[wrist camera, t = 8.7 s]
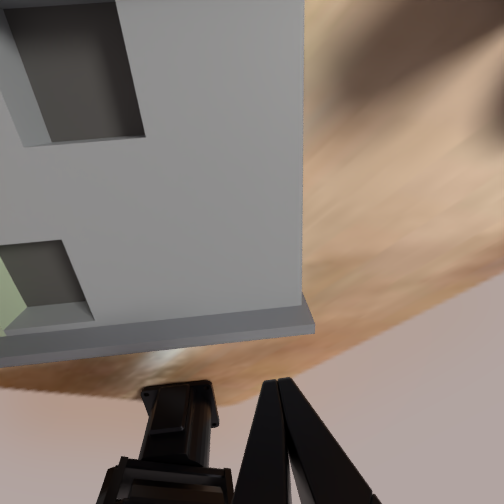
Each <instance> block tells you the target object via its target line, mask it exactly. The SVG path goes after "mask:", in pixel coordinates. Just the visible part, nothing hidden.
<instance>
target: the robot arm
mask: <svg viewBox="0 0 504 504" xmlns="http://www.w3.org/2000/svg"><path fill="white" fill-rule="evenodd" d="M141 397H142V400H143V402H144V405H145V407H146V410H147V413H148V416H149V419H148V423H147V427H146V431H145V435H144V439H143V443H142V447H141V451H140V454H139V458H138V460H137V459H128V457H123V456H121V459H120V462H119V465H116V466H115V467H112V468H110V469H108V471H107V473H106V476H105V479H104V482H103V485H102V488H101V491H100V494H99V497H98V499H97V502H96V504H292V498H291V483H290V482H291V481H290V466H289V459H290V463H291V467H292V471H293V475H294V478H295V482H296V486H297V490H298V493H299V497H300V500H301V504H382V503H381V502H380V500H379V499H378V498H377V496H376V495H375V494H372V490H371V488H370V487H369V485H368V484H367V483H366V482H365V480H364V479H363V477H362V476H361V474H360V473H359V471H358V470H357V469H356V467H355V466H354V464H353V463H352V462H351V461H350V459H349V458H348V457H347V455H346V453H345V452H344V451H343V449H342V448H341V446H340V445H339V444H338V442H337V441H336V439H335V438H334V437H333V436H332V434H331V433H330V431H329V430H328V429H327V427H326V426H325V424H324V423H323V421H322V420H321V419H320V417H319V416H318V414H317V413H316V412H315V410H314V409H313V408H312V406H311V405H310V403H309V402H308V401H307V399H306V398H305V396H304V395H303V394H302V392H301V391H300V390H299V388H298V387H297V385H296V384H295V382H294V381H293V380H292V379H291V378H290V377H286V378H279V379H278V380H275V379H273V380H266V381H264V382H263V384H262V388H261V392H260V395H259V399H258V403H257V407H256V411H255V415H254V419H253V422H252V426H251V430H250V434H249V437H248V441H247V445H246V449H245V453H244V457H243V460H242V464H241V468H240V472H239V476H238V480H237V484H236V487H235V492H234V490H233V482H232V475H231V469H229V468H224V469H217V468H209V452H210V434H211V428H215V427H218V426H219V416H218V411H217V406H216V401H215V396H214V391H213V386H212V382H210V381H197V382H188V383H180V384H171V385H162V386H153V387H145V388H143V389H142V392H141ZM288 454H289V456H288Z"/></svg>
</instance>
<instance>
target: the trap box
mask: <svg viewBox="0 0 504 504" xmlns="http://www.w3.org/2000/svg"><path fill="white" fill-rule="evenodd" d="M303 96H304V0H0V368H3V367H12V366H21V365H30V364H39V363H48V362H58V361H67V360H76V359H85V358H94V357H104V356H113V355H122V354H131V353H140V352H150V351H159V350H168V349H177V348H186V347H195V346H205V345H214V344H223V343H232V342H241V341H251V340H260V339H269V338H278V337H287V336H297V335H306V334H315V322H314V320H313V317H312V315H311V313H310V310H309V308H308V305H307V303H306V300H305V298H304V295H303V293H302V205H303Z"/></svg>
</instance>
